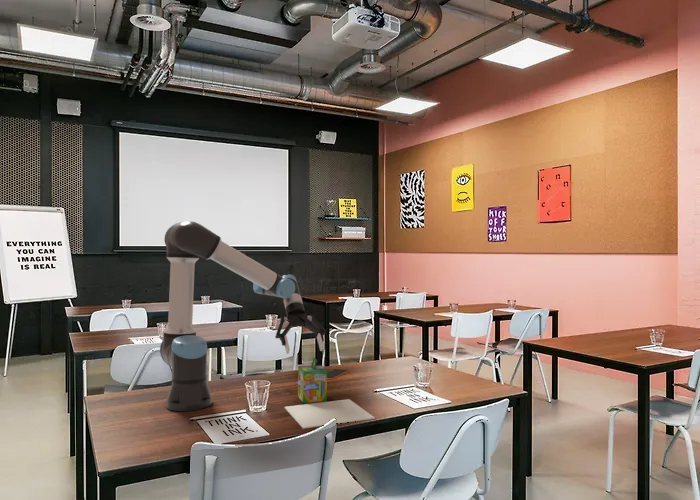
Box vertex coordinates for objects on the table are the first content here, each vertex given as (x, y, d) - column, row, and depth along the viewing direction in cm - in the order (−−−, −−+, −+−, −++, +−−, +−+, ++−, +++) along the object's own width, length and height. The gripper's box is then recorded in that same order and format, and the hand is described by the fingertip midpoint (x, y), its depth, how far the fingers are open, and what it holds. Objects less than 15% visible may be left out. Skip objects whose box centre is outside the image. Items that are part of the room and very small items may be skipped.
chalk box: (297, 397, 187) (297, 357, 187) (321, 395, 190) (321, 355, 190) (302, 404, 178) (302, 362, 178) (327, 402, 181) (327, 360, 181)
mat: (303, 428, 154) (303, 427, 154) (284, 407, 174) (284, 406, 174) (374, 418, 163) (374, 417, 163) (349, 400, 183) (349, 399, 183)
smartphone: (316, 378, 215) (316, 376, 215) (335, 370, 230) (335, 368, 230) (331, 380, 212) (331, 378, 212) (349, 372, 227) (349, 370, 227)
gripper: (320, 311, 214) (333, 353, 201) (262, 314, 205) (271, 358, 191) (325, 300, 210) (338, 342, 196) (265, 302, 200) (275, 347, 186)
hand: (305, 350), depth 193 cm, fingers open, 13 cm apart
